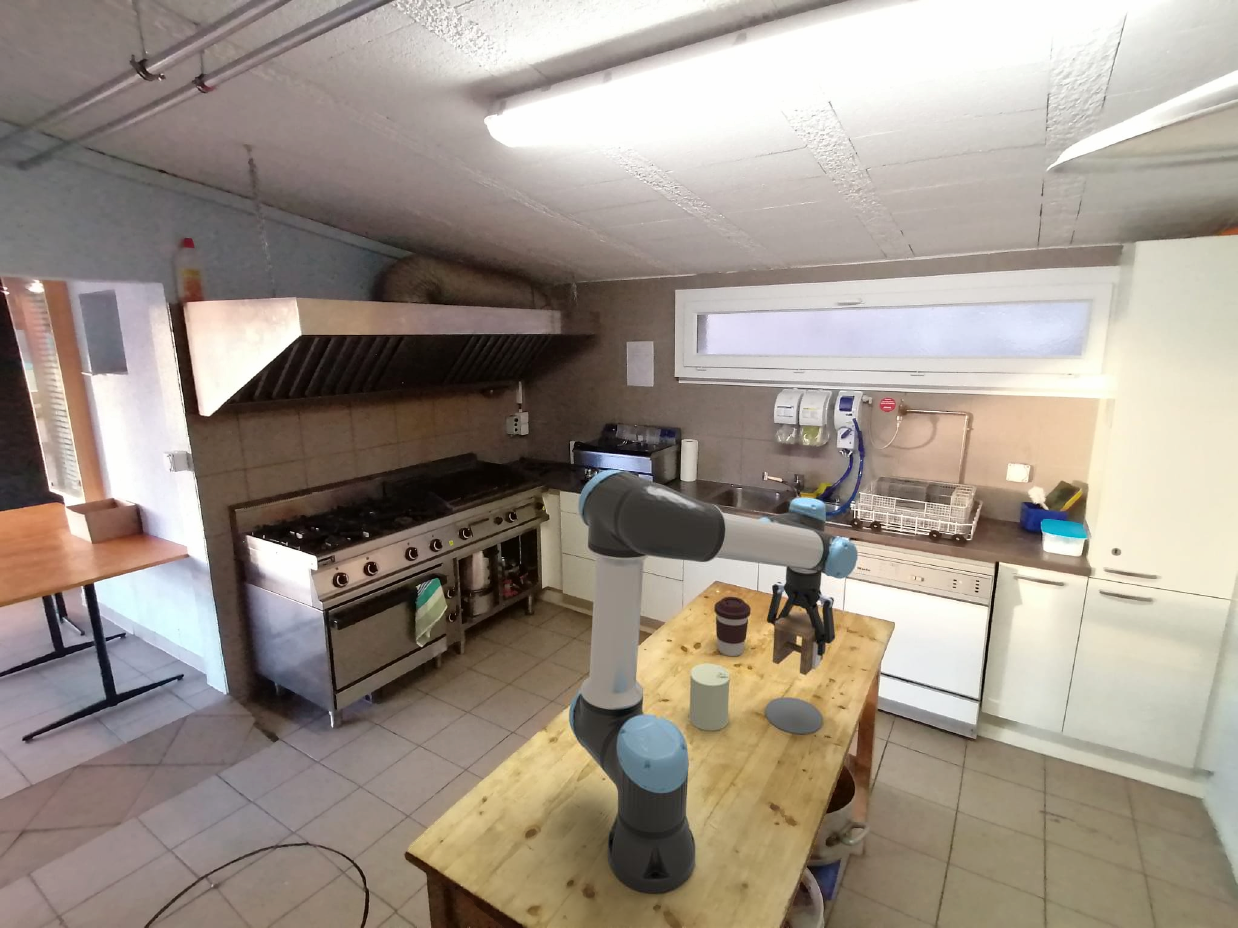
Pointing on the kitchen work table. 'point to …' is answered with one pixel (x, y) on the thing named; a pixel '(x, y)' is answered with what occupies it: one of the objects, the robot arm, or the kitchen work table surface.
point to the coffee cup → (731, 625)
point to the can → (709, 696)
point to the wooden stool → (795, 639)
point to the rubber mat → (794, 715)
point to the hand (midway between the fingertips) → (797, 659)
